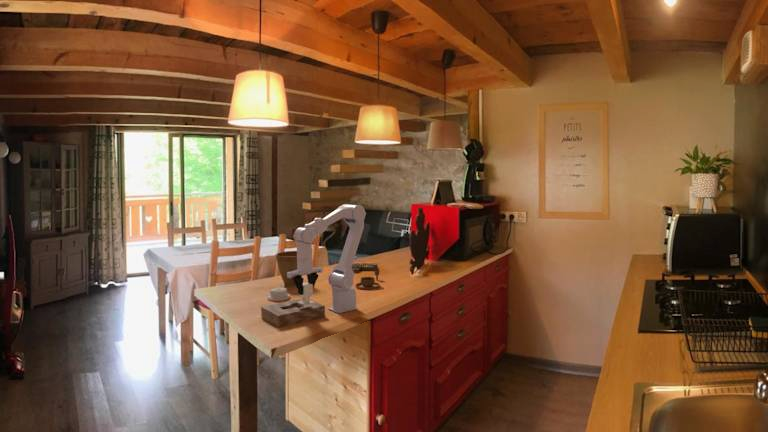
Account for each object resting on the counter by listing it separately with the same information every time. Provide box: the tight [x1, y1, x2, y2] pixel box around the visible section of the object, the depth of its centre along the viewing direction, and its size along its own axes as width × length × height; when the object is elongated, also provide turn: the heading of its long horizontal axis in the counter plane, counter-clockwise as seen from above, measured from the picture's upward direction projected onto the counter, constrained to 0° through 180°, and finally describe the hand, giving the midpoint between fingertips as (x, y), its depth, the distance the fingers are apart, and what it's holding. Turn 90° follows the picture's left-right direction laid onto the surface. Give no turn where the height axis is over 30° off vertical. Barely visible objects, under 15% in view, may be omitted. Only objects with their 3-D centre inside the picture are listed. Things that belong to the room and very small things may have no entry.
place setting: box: [355, 269, 385, 291], centre depth 239 cm, size 18×20×6 cm
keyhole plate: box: [260, 298, 326, 328], centre depth 189 cm, size 20×15×4 cm
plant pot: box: [275, 250, 303, 287], centre depth 241 cm, size 15×15×16 cm
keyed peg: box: [297, 281, 316, 308], centre depth 185 cm, size 5×5×8 cm
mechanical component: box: [267, 287, 291, 302], centre depth 217 cm, size 10×4×10 cm
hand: (305, 293), depth 185 cm, fingers closed on keyed peg, 4 cm apart
